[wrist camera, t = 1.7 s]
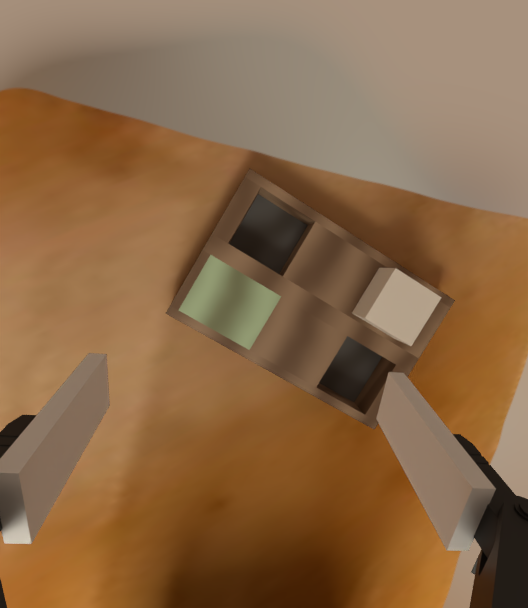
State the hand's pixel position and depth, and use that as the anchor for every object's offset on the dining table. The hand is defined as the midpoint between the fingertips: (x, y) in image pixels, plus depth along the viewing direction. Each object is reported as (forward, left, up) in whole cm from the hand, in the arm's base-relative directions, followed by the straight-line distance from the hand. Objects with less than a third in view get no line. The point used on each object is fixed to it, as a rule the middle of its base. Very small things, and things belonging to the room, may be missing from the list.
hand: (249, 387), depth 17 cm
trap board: (-7, -5, -27) cm, 28 cm away
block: (-14, -10, -23) cm, 29 cm away
